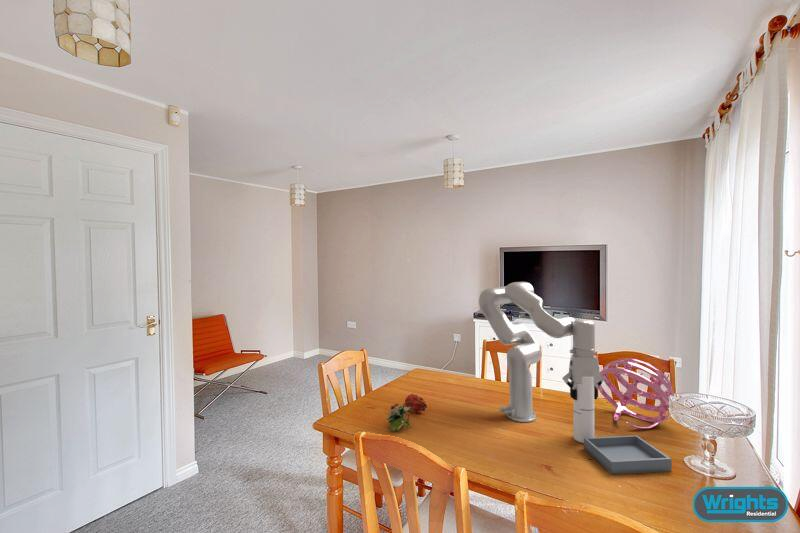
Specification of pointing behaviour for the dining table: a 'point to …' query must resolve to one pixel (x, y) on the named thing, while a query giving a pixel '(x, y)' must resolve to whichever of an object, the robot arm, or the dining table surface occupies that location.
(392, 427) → the green leafy plant
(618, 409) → the spiral basket
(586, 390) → the cylindrical container
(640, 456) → the tray
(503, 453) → the dining table surface
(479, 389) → the dining table surface
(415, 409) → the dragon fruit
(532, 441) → the dining table surface
